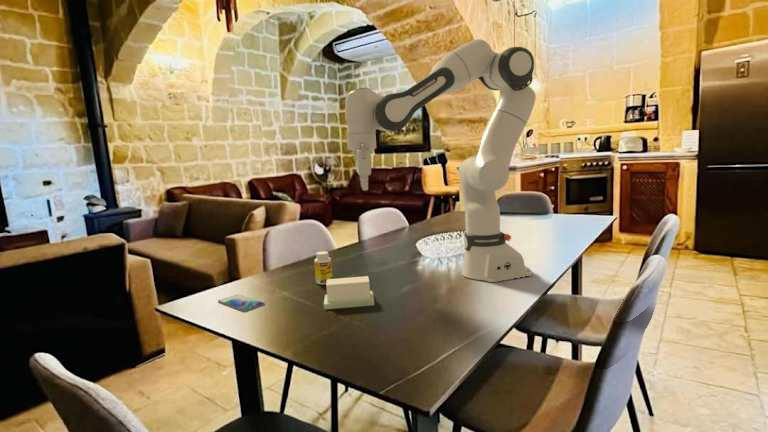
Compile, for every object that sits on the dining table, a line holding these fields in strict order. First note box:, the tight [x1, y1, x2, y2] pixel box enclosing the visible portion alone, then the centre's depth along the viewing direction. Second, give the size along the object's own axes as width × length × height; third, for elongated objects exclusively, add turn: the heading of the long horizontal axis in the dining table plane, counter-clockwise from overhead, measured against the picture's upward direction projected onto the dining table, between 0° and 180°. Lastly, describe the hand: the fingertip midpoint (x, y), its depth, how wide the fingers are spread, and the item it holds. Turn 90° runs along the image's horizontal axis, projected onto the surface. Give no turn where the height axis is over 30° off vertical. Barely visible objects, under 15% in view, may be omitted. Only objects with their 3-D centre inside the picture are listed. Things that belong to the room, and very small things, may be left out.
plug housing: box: [325, 275, 371, 302], centre depth 121 cm, size 12×5×5 cm, turn 95°
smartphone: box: [217, 294, 266, 313], centre depth 126 cm, size 7×1×15 cm
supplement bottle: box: [313, 250, 333, 285], centre depth 141 cm, size 6×6×10 cm
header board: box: [323, 290, 375, 311], centre depth 121 cm, size 14×8×5 cm, turn 95°
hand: (364, 188), depth 131 cm, fingers open, 8 cm apart
